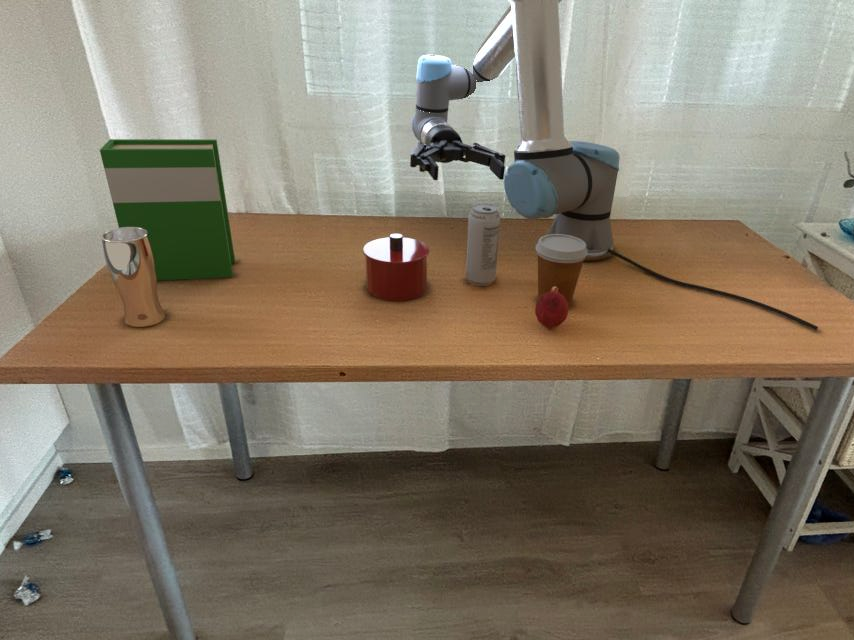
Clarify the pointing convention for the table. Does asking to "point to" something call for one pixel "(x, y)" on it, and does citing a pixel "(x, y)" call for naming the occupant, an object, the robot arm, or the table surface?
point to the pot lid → (396, 250)
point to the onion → (551, 308)
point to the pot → (396, 280)
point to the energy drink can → (482, 244)
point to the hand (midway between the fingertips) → (470, 173)
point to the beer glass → (134, 274)
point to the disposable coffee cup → (559, 263)
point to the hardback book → (173, 202)
